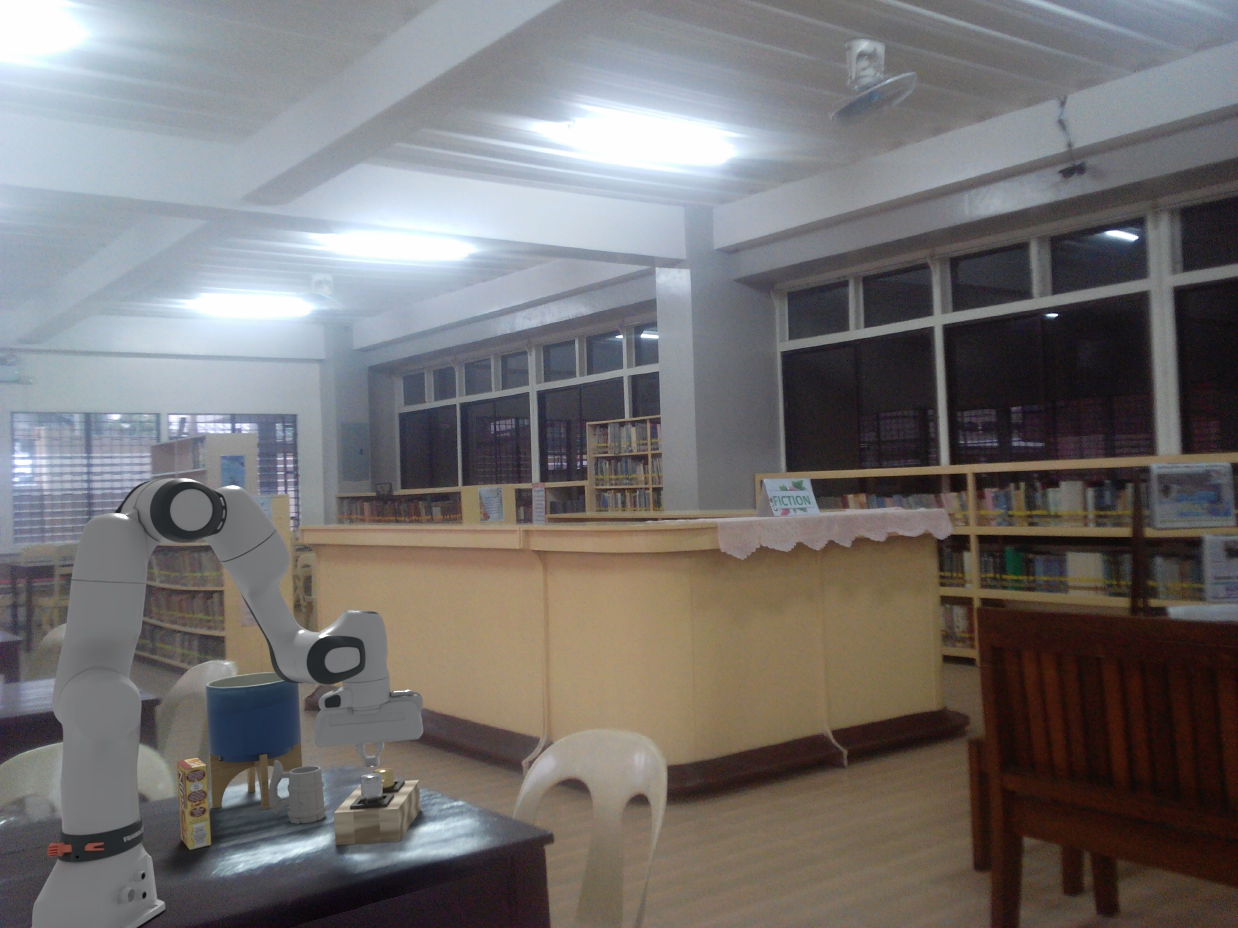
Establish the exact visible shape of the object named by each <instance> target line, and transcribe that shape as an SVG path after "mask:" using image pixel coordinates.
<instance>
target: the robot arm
mask: <svg viewBox="0 0 1238 928" xmlns="http://www.w3.org/2000/svg"><path fill="white" fill-rule="evenodd" d="M201 539H203V540H204V541H205V542H206V543H207V544H208V546H210V547H211V548H212V550H213V553H214V554H215V555H216V556H217V559H218V560H219V561H220V563H221V565H222V566H223V568H224V569H225V570H226V572H227V574H228V575H229V577H230V578H231V580H232V581H233V582H234V584H235V585H236V588H237V589H238V591H239V593H240V595H241V597H242V599H243V601H244V603H245V604H246V606H247V608H248V610H249V612H250V614H251V615H252V617H253V619H254V621H255V622H256V624H257V626H258V628H259V629H260V631H261V633H262V635H263V637H264V639H265V642H266V643H267V647H268V651H269V656H270V662H271V665H272V669H273V670H274V671H273V672H276V674H277V675H278V676H279V677H280V678H281V679H283V680H284V681H286V682H289V683H298V684H308V685H315V686H316V685H317V686H332V685H335V684H338V683H340V682H341V683H342V686H341V687H338V688H335V689H333V690H330V691H328V692H326V693H324V694H323V695H322V696H321V697H320V698H319V699H318V707H319V709H320V711H318V713H317V714H316V716H315V720H314V729H313V730H314V732H313V733H314V737H313V738H314V744H315V745H316V746H317V747H318V748H320V749H323V748H332V747H343V746H355V751H356V753H357V754H358V756H359V757H360V758H361V759H362V767H363V768H373V767H379V766H380V763H381V762H380V761H381V760H380V757H381V753H382V752H383V750H384V748H385V743H389V742H399V741H411V740H413V741H414V740H418V739H420V738H421V737H422V735H423V733H424V726H423V723H424V722H423V717H422V713H421V712H422V710H423V708H424V703H423V697H422V695H421V693H420V692H417V691H415V690H414V689H407V690H394V691H391V681H390V680H391V678H390V673H389V668H388V664H387V659H388V655H389V650H388V649H389V648H388V638H387V636H388V635H387V631H386V627H385V622H384V619H383V617H382V615H381V614H380V613H378V612H377V611H374V610H364V609H362V610H361V609H360V610H359V609H358V610H357V609H348V610H344V611H342V613H341V614H340V616H339V617H338V618H337V619H335V621H334V622H332V623H331V624H329V626H326V627H325V628H324V629H321V630H319V632H317V631H310V630H308V629H306V628H305V627H303V626H301V625H300V624H299V623H298V622H297V620H296V619H295V616H294V614H293V612H292V611H291V609H290V608H289V605H288V603H287V602H286V600H285V598H284V596H283V594H282V593H281V589H280V583H281V581H282V580H283V579H284V578H285V576H286V574H287V573H288V571H289V569H290V564H291V555H290V552H289V549H288V547H287V544H286V542H285V540H284V538H283V536H282V534H281V533H280V531H279V530H278V528H277V527H276V524H274V522H273V521H272V519H271V517H270V516H269V515H268V514H267V512H266V511H265V510H264V509H263V507H262V506H261V504H259V502H257V500H256V499H255V498H254V497H253V496H252V495H251V493H249V492H248V490H246V489H245V488H243V487H241V486H238V485H225V486H222V487H218V488H216V489H213V488H212V487H209V486H207V485H206V484H204V483H202V482H200V481H198V480H194V479H193V478H187V477H183V478H181V477H180V478H176V477H161V478H155V479H153V480H152V479H151V480H146V481H144V482H142V483H140V484H138V485H136V486H135V487H133V488H132V489H131V490H130V491H129V493H127V495H126V496H125V498H124V499H123V501H122V502H121V503H120V505H119V506H118V507H117V509H116V510H115V511H114V512H109V513H104V514H100V515H97V516H95V517H92V518H90V520H88V522H86V523H85V525H84V527H83V530H82V533H81V535H80V539H79V541H78V544H77V550H76V553H75V556H74V560H73V561H74V562H73V566H72V574H71V581H70V587H69V588H70V589H69V599H68V607H67V614H66V615H67V616H66V623H65V631H64V636H63V640H62V643H61V648H60V653H59V657H58V658H59V659H58V663H57V667H56V674H55V680H54V685H53V691H52V697H51V706H52V711H53V715H54V716H55V718H56V719H57V721H58V722H59V723H61V727H62V761H61V762H62V765H61V774H60V775H61V776H60V780H59V782H60V783H59V784H60V803H61V804H60V805H61V828H62V829H61V830H60V832H59V836H58V840H57V843H56V842H50V844H49V845H48V847H47V852H46V853H47V856H48V857H50V858H52V857H55V858H56V862H55V864H54V866H53V868H52V870H51V872H50V874H49V875H48V877H47V880H46V881H45V883H44V885H43V887H42V888H41V891H40V893H39V894H38V895H37V897H36V900H35V902H34V904H33V907H32V913H31V914H32V916H31V918H32V919H31V925H32V926H31V927H30V928H138V927H140V926H141V925H143V924H144V923H146V922H147V921H149V920H151V919H152V918H154V917H155V916H157V915H159V914H160V913H162V912H163V911H165V910H166V903H165V901H164V900H160V899H158V895H157V893H158V892H157V887H156V879H155V873H154V864H153V858H152V856H151V855H150V854H149V853H148V852H147V851H146V849H145V848H144V845H143V844H142V842H143V840H144V831H145V830H144V829H145V828H144V824H143V818H142V816H140V806H139V805H140V803H139V785H138V784H139V783H138V781H139V779H138V761H139V751H140V741H141V740H140V739H141V720H142V718H141V717H142V704H143V703H142V698H141V694H140V691H139V689H138V687H137V686H136V684H135V683H134V682H133V681H132V680H131V679H130V674H131V669H132V665H133V662H134V661H133V660H134V656H135V652H136V648H137V644H138V641H139V638H140V636H141V633H142V627H143V618H144V609H145V601H146V591H147V590H146V589H147V579H148V566H149V565H148V564H149V563H150V559H151V556H152V554H153V552H154V550H155V549H156V547H157V546H158V545H160V544H165V545H167V544H173V545H174V544H181V543H185V544H186V543H191V542H195V541H199V540H201ZM367 744H375V749H378V750H377V752H376V754H374V755H368V754H367V753H366V751H365V750H364V749H365V748H366V745H367Z"/></svg>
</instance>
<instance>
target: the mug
mask: <svg viewBox="0 0 1238 928" xmlns="http://www.w3.org/2000/svg"><path fill="white" fill-rule="evenodd" d="M322 773H323V772H322V767H321V766H318V765H308V766H307V765H306V766H302V767H298V768H295V769H292V770H290V771H289V772H284V771H283V766H282V764H281V763H280V761H278V760H275V761H274V767H273V771H272V775H271V778H270V782H269V790H268V795H269V804H270V809H272V810H273V813H274V814H275V815H278V814H280V812H281V811H282V810H283V809H284V808H285V807H288V808H287V816H288V819H289V822H290V824H297V825H298V824H308V823H313V822H316V821H320V820H322V819H324V818H325V817H326V811H327V804H326V803H325V796H324V786H325V784H324V780H323V776H322ZM282 779H288V785H287V792H288V797H287V798H284V799H282V798H281V797H280V795H278V786H279V783H281V781H282Z"/></svg>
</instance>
